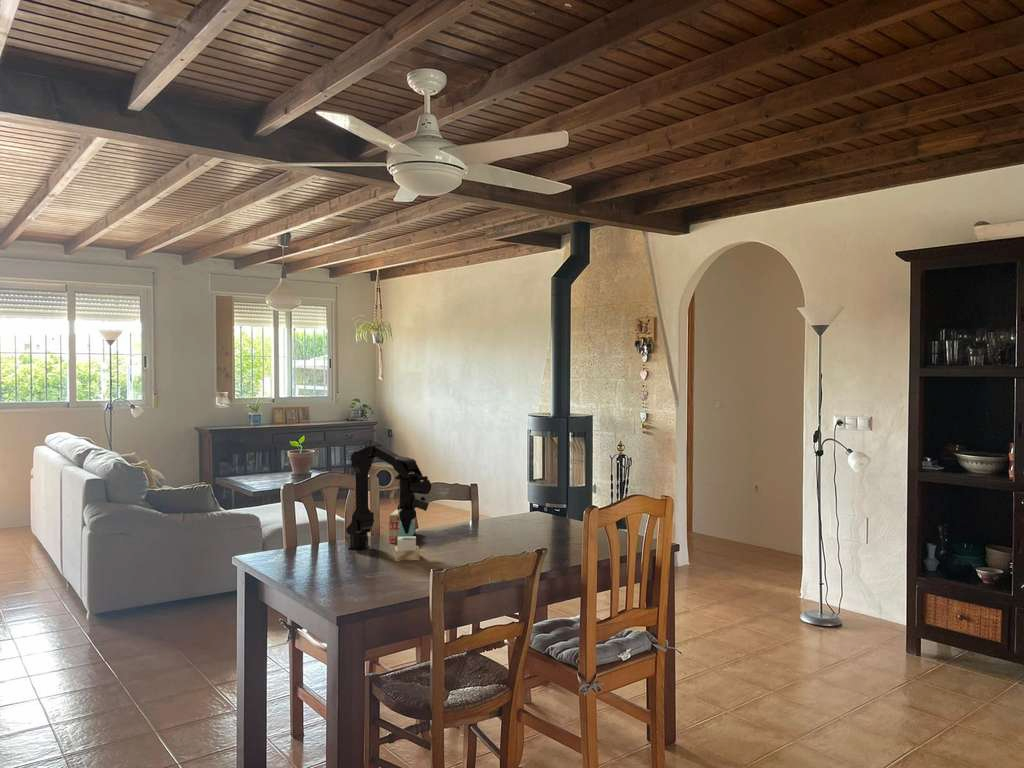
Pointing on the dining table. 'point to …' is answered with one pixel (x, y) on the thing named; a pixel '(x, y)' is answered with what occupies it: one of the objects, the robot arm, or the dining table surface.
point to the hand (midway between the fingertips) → (406, 532)
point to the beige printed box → (395, 526)
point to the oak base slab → (407, 554)
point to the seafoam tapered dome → (402, 532)
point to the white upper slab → (406, 543)
